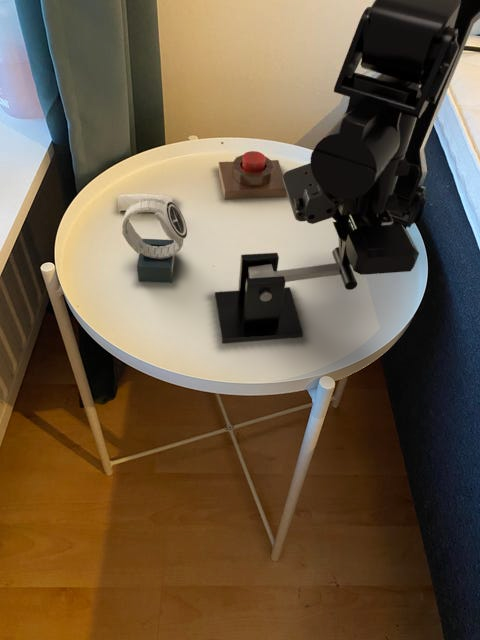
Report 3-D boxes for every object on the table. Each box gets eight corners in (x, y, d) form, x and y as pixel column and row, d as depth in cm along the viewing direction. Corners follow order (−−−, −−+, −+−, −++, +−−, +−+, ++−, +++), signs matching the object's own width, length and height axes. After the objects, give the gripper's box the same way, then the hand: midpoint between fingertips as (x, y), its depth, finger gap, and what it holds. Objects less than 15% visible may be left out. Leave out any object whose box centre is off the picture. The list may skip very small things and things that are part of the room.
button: (262, 160, 88) (263, 150, 87) (266, 173, 86) (267, 163, 85) (240, 161, 88) (241, 151, 87) (243, 174, 86) (244, 164, 84)
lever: (342, 257, 68) (344, 243, 66) (356, 292, 64) (358, 277, 63) (246, 270, 68) (245, 255, 66) (254, 306, 64) (253, 291, 62)
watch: (186, 285, 73) (184, 219, 65) (125, 283, 73) (116, 216, 65) (189, 257, 77) (187, 191, 69) (131, 254, 77) (123, 188, 68)
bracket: (288, 293, 73) (297, 242, 67) (301, 339, 68) (312, 289, 61) (214, 298, 72) (215, 247, 65) (221, 345, 67) (224, 295, 60)
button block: (277, 168, 93) (279, 150, 90) (286, 197, 87) (289, 178, 85) (218, 170, 91) (219, 152, 89) (224, 199, 86) (225, 180, 83)
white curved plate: (122, 198, 85) (120, 182, 83) (174, 200, 85) (173, 184, 83) (119, 213, 82) (116, 196, 80) (172, 215, 83) (171, 199, 80)
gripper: (277, 99, 58) (264, 217, 70) (319, 208, 46) (295, 328, 58) (377, 97, 60) (348, 212, 71) (443, 201, 48) (395, 320, 59)
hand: (345, 263), depth 65 cm, fingers closed, pressing on lever
